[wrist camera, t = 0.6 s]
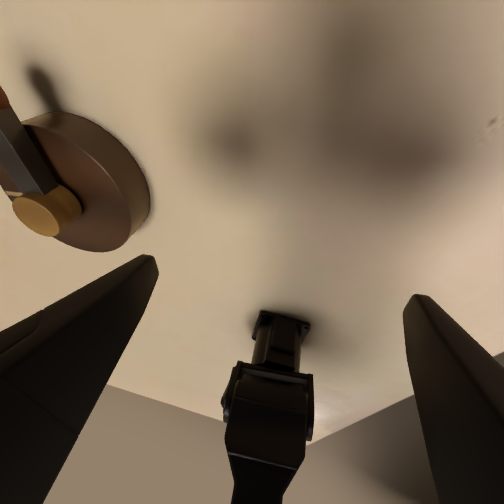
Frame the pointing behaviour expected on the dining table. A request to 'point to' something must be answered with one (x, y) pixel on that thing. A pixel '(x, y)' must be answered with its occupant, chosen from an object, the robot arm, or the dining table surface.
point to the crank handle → (33, 179)
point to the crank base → (89, 180)
